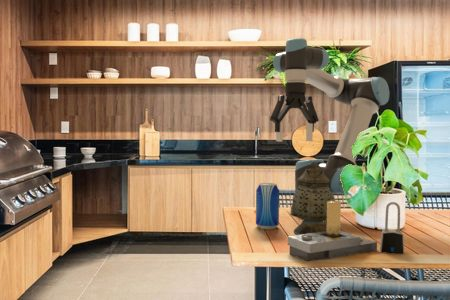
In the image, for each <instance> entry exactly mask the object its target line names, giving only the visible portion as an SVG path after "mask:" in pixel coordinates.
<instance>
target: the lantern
mask: <svg viewBox="0 0 450 300" xmlns="http://www.w3.org/2000/svg"><path fill="white" fill-rule="evenodd" d="M309 167H310V169H308V168H309ZM317 167H319V168H320V169H321V170H318V169H317ZM298 181H300V184H299V187H298V189H297V190H296V192H295V191H294V195H293V196H292V203H293V208H294V211H295V213H296V214H297V215H298V216H297V217H298V218H299V219H300V220H302V222H301V223H300V224H299V225H297V227H295V228H294V229H293V234H295V235H301V234H309V233H316V232H323V231H326V225H327V223H326V222H325V221H327V201H336V199H335V197H334V193H332V192H331V190H330V189H329V184H328V183H330V181H329V179H328V178H327V177H326V176H325V174H324V170H323V168H322V167H320V166H318V165H317V163H316V162H312V163H311V164H310V165H309V166H308V167H307V168H306V170H305V172H304V173H303V175H302V176H301V177H299V178H298Z"/></svg>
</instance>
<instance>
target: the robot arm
mask: <svg viewBox="0 0 450 300" xmlns="http://www.w3.org/2000/svg"><path fill="white" fill-rule="evenodd" d="M272 60H273V61H272V65H273V68H274V69H275V71H276V72H279V73H284V74H285V75H284V76H285V77H284V78H285V79H284V81H285V84H284V93H285V94H279V95H278V96H277V102H276V104H275V106H274V109H273V111H272V113H271V116H270V117H269V120H270V122H272V123H273V124H274V132H275V138H276V139H275V141H276V142H281V143H283V127H284V124H283V123H282V121H283V119H284V118H285V117H286V115H287V114H288V112H289V111H290V110H291V109H298V110H299V111H300V112H301V113H302V115H303V116H304V118H305V119H306V121H307V122H306V124H305V125H306V126H305V128H306V131H305V132H306V133H305V141H306V142H313V137H314V136H313V133H314V132H315V124H316V123H317V122H319V121H320V119H319V117H318V113H317V111H316V108H315V106H314V103H313V96H312V95H311V96H306V93H307V83H308V84H309V85H311V86H312V87H315V88H317V89H319V90H320V91H322V92H324V93H325V94H326V96H327V97H329V98H331V99H332V100H335V101H336V102H338V103H342V104H344V105H347V106H352V109H351V111H350V114H349V117H348V119H347V122H346V124H345V127H344V129H343V131H342V134H341V136H340V138H339V141H338V144H337V146H336V149H335V151H334V154H330V155H329V157H328V159H327V161H326V162H324V158H321V159H320V158H319V159H318V158H317V159H307V160H298V161H296V163H295V170H294V193H295V192H296V190H297V189H298V187H299V184H300V181H298V178H299V177H301V176H302V175H303V173H304V172H305V170H306V168H307V167H308V166H309V165H310V164H311V163H312V162H316V163H317V165H318V166H320V167H322V168H323V170H324V174H325V176H326V177H327V178H328V179H329V181H330V183H328V184H329V189H330V190H331V192H332V194H336V195H345V194H344V191H343V187H342V183H341V181H340V174H341V172H342V170H343V168H344V167H345V166H346V165H348V164H352V165H357V163H356V159H357V156H358V155H357V156H356V157H355V158H354V159H353V157H352V149H351V147H352V145H353V144H354V143H355V141H356V138H357V136H358V134H359V133H360V132H362V131H364V130H366V129H367V130H368V129H369V125H370V123H371V120H372V117H373V115H374V114H376V113H377V112H378V111H379V109H380V106H384V105H386V104H387V103H388V102H389V99H390V89H389V85H388V82H387V81H386V79H385V78H383V77H382V76H377V77H376V76H372V77H363V78H360V77H359V78H342V77H339V76H333V75H332V74H330V73H328V72H326V71H325V70H323V69H325V68H326V67H327V66H328V64H329V62H330V55H329V53H328V51H327V50H325V49H323V48H320V47H318V48H317V47H312V46H308V40H307V39H306V38H302V37H295V38H294V37H293V38H289V39H287V40H286V42H285V50H284V51H282V52H279V53H277V54H275V56H274V57H273V59H272ZM284 103H285V104H284ZM376 111H377V112H376ZM308 169H310V167H309V168H308ZM317 169H318V170H321V169H320V168H319V167H317ZM290 214H291V215H293V216H297V217H298V215H297V214H296V213H295V211H294V208H293V202H292V204H291V207H290Z"/></svg>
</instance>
